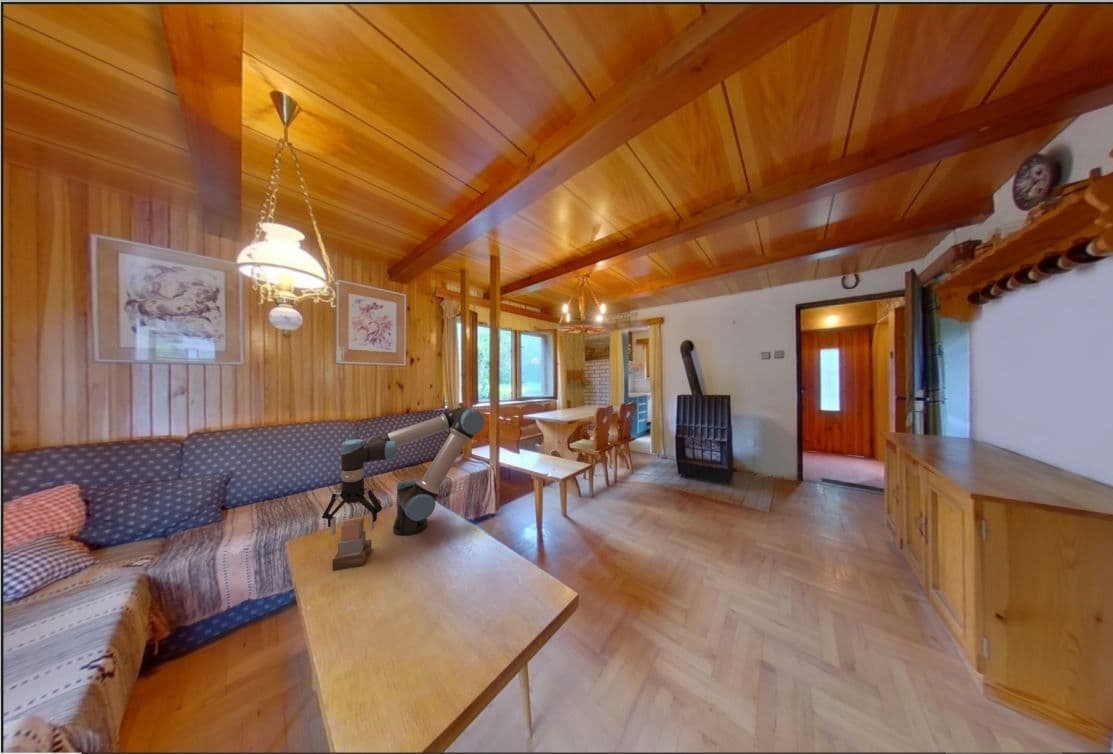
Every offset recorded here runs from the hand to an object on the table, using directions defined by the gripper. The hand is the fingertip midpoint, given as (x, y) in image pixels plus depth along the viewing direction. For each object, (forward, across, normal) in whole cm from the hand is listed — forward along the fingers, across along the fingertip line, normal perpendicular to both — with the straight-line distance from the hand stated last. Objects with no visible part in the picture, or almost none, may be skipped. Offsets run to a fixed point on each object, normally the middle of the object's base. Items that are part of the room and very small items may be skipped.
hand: (353, 532), depth 123 cm
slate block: (+7, 0, 0) cm, 7 cm away
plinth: (+11, 0, 0) cm, 11 cm away
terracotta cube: (+2, 0, 0) cm, 2 cm away
